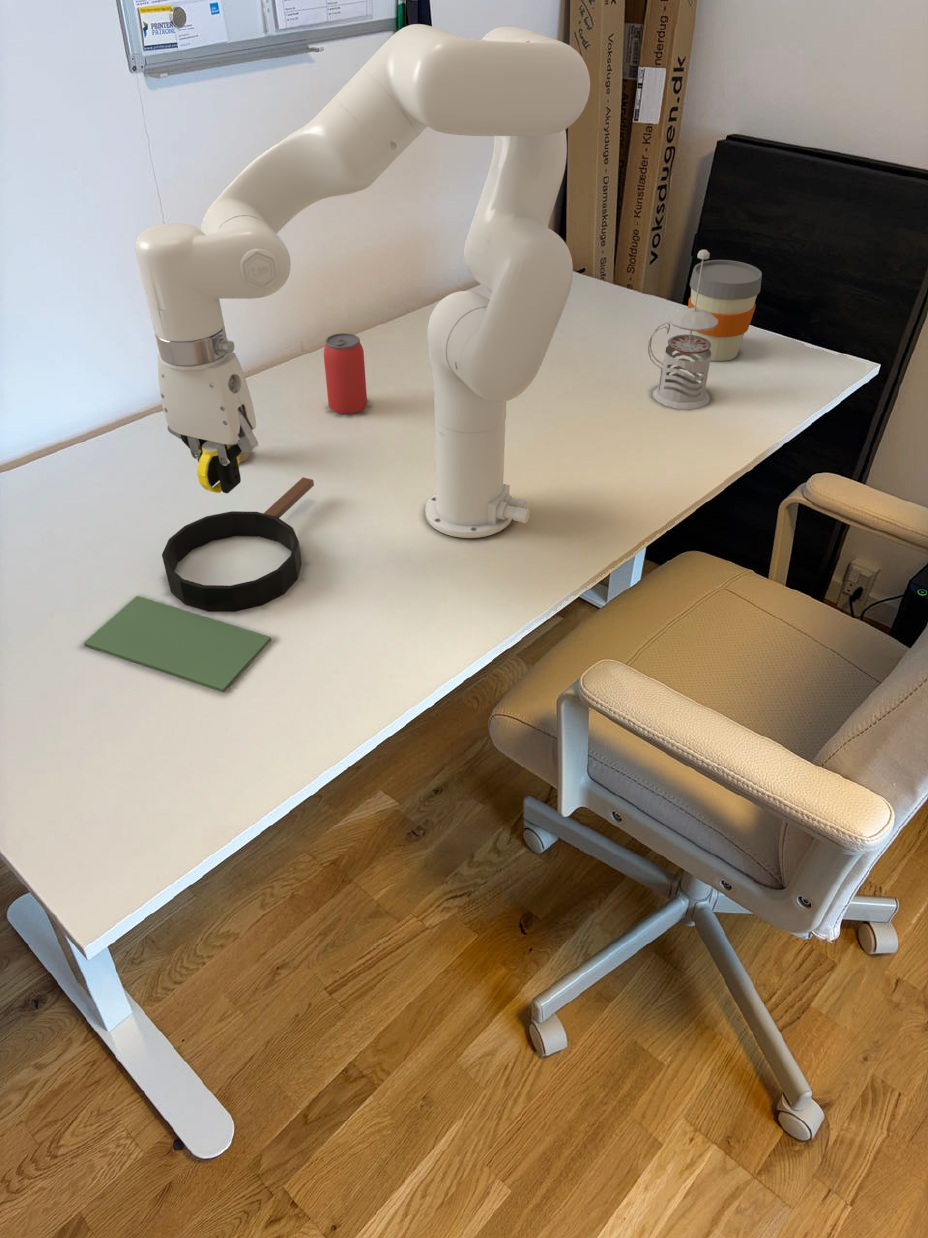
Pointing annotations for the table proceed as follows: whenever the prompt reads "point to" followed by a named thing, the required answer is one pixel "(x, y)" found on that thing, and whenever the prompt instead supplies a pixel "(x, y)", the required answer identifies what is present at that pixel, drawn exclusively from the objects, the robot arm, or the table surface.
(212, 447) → the watch
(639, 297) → the table surface
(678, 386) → the french press
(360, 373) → the beer can
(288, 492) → the pan
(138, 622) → the mat
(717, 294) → the reusable coffee cup
